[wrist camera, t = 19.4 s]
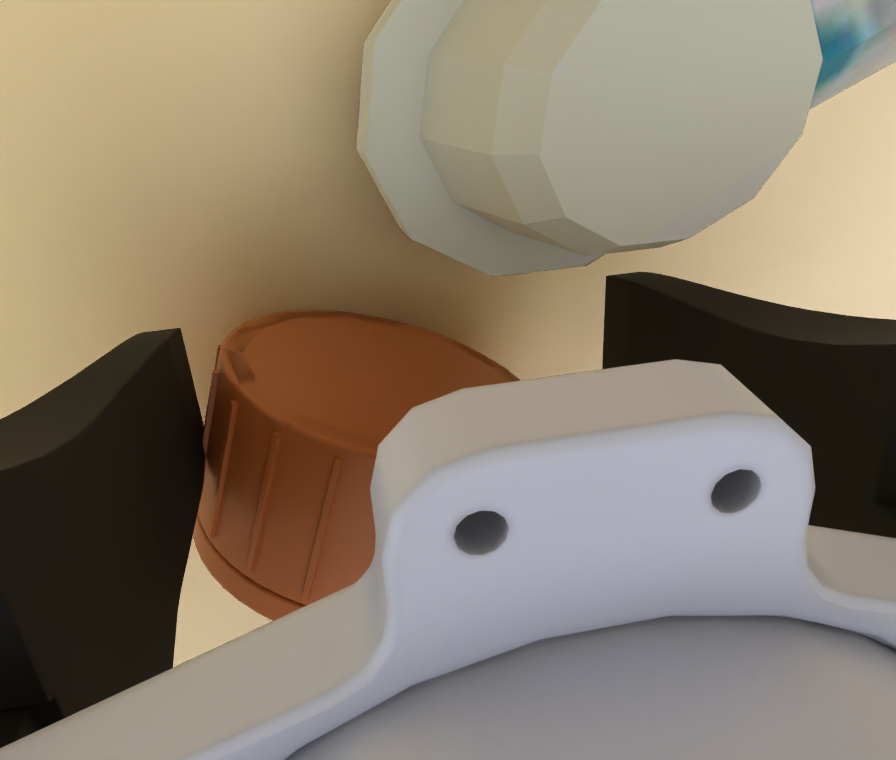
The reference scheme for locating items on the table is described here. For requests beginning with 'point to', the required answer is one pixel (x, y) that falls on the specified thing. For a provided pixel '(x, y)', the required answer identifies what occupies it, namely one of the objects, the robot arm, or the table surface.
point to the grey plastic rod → (594, 116)
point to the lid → (310, 446)
